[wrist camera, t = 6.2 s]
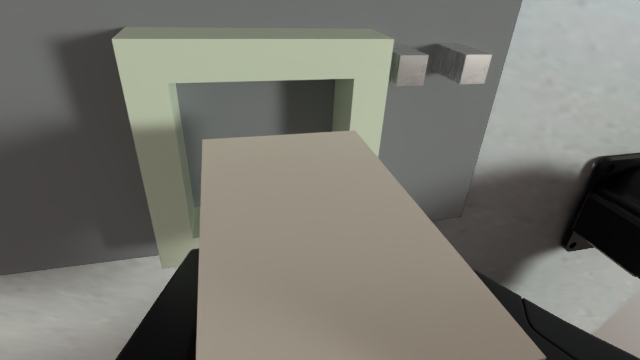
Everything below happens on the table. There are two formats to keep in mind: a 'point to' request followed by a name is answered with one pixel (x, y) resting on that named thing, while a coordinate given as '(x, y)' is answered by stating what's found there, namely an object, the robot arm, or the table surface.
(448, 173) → the mat
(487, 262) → the table surface
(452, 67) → the set of small cubes
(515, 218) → the table surface
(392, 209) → the beige rectangular block
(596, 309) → the table surface
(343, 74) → the end holder
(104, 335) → the table surface
